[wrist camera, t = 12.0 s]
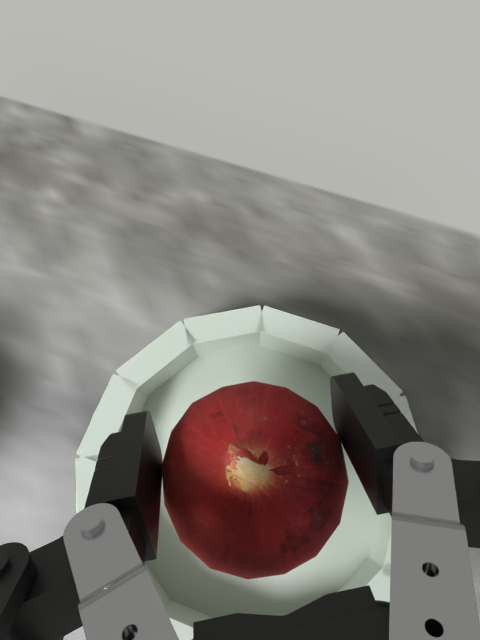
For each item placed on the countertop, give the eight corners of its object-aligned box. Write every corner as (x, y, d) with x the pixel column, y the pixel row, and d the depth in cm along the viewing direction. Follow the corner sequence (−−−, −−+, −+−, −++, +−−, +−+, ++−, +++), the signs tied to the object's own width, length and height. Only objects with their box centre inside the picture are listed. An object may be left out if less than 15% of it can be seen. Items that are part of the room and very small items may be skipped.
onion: (311, 393, 18) (352, 332, 11) (340, 544, 16) (415, 594, 9) (175, 413, 18) (122, 365, 11) (188, 567, 16) (134, 639, 9)
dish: (365, 293, 22) (382, 266, 20) (472, 632, 17) (515, 662, 14) (75, 345, 22) (50, 325, 19) (95, 714, 17) (64, 762, 14)
